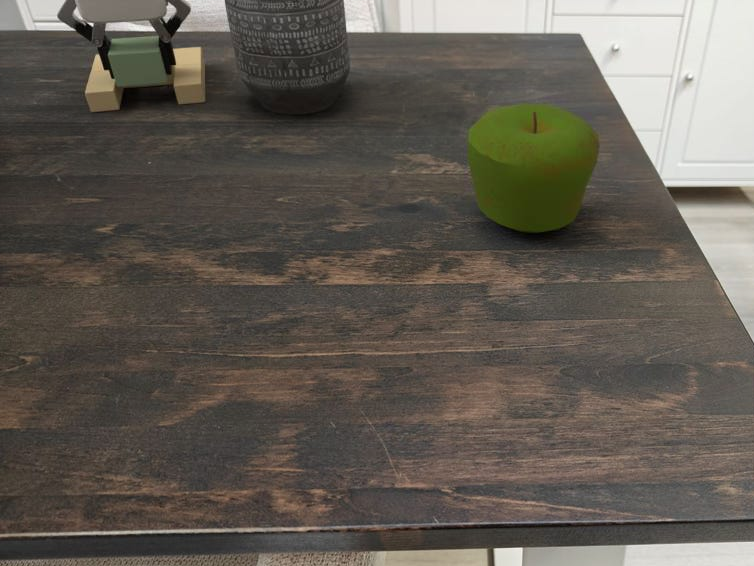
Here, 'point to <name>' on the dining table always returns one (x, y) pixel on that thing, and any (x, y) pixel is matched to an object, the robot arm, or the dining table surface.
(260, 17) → the planter
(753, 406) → the dining table surface
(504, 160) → the apple
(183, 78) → the u-shaped wooden block
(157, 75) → the sage green rounded cube
